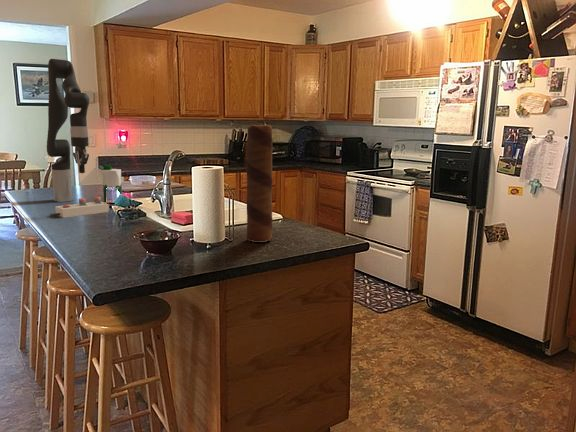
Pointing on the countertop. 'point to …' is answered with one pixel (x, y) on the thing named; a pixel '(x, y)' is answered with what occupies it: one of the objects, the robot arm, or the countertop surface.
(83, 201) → the button
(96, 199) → the button
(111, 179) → the milk carton
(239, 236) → the countertop surface
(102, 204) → the button panel
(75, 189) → the countertop surface
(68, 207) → the button
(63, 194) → the robot arm
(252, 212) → the wafer roll
